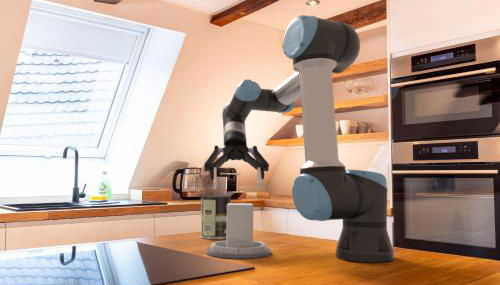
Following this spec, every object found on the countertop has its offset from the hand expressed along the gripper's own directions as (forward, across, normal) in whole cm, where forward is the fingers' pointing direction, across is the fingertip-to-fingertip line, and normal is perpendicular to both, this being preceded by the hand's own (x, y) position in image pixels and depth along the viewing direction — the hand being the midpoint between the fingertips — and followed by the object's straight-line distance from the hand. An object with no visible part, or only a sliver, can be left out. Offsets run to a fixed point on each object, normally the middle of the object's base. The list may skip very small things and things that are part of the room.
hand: (237, 186), depth 148 cm
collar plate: (+21, +1, -5) cm, 21 cm away
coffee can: (-1, +6, -28) cm, 29 cm away
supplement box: (+20, 0, -4) cm, 20 cm away
